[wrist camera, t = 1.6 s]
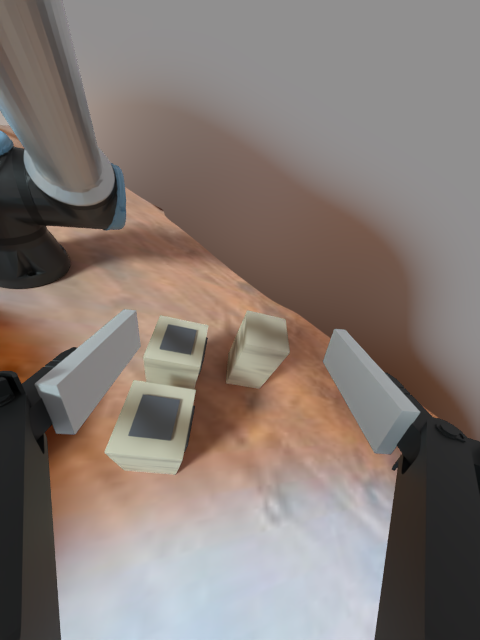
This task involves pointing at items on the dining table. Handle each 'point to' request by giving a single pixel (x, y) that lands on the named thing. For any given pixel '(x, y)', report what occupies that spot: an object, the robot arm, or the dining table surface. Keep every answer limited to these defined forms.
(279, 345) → the plain block
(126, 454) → the marked block 2
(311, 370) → the dining table surface
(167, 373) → the marked block 1
